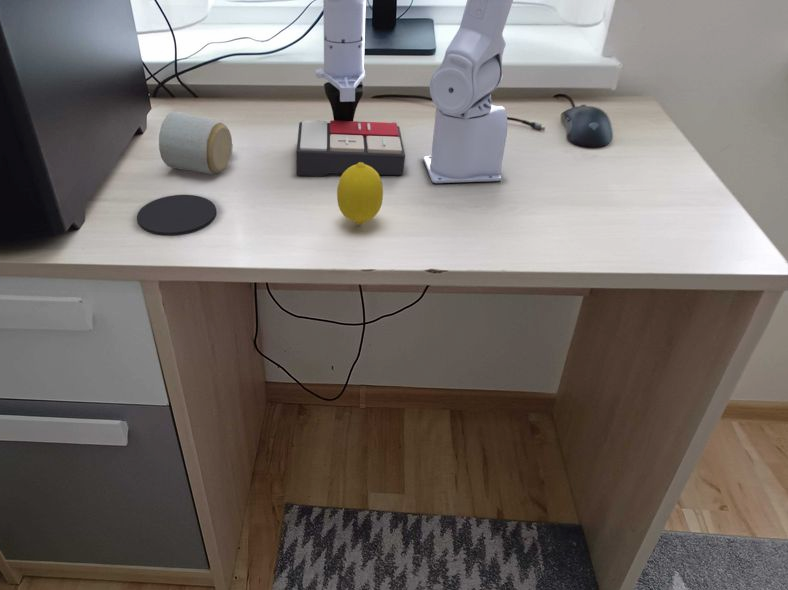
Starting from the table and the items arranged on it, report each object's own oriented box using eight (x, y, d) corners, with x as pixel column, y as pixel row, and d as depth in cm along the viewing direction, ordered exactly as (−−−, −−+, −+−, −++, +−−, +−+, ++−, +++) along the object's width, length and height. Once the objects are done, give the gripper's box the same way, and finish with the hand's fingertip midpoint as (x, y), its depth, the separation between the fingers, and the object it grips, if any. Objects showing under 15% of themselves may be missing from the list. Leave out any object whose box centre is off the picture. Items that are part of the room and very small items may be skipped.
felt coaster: (219, 195, 87) (218, 193, 87) (213, 233, 79) (213, 230, 79) (144, 198, 87) (143, 196, 86) (131, 236, 79) (130, 234, 79)
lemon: (368, 239, 78) (370, 177, 73) (328, 227, 80) (328, 166, 75) (389, 220, 81) (393, 159, 76) (351, 209, 84) (352, 149, 78)
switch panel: (406, 150, 88) (296, 146, 88) (402, 179, 91) (295, 175, 91) (399, 120, 97) (299, 116, 97) (396, 148, 100) (299, 144, 99)
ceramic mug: (214, 183, 90) (207, 128, 85) (162, 175, 92) (153, 121, 87) (246, 154, 97) (242, 102, 92) (198, 147, 100) (191, 96, 95)
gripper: (313, 24, 96) (315, 116, 105) (317, 53, 85) (319, 153, 93) (361, 23, 96) (358, 114, 105) (371, 52, 85) (367, 152, 94)
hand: (343, 133), depth 99 cm, fingers closed
